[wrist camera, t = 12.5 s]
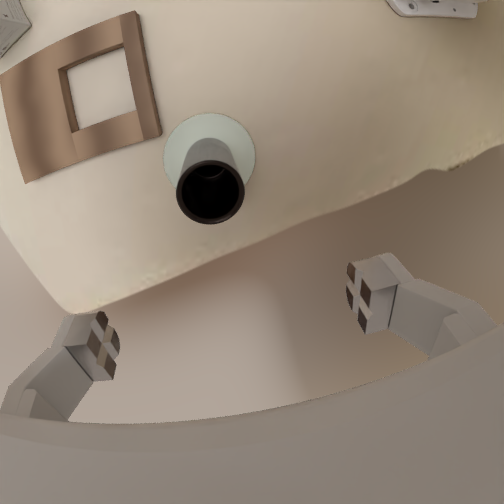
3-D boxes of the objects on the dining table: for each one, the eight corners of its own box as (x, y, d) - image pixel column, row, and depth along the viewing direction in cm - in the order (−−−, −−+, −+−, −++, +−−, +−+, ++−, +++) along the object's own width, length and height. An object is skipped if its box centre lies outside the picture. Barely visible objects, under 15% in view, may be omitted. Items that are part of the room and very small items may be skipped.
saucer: (246, 105, 26) (247, 105, 26) (260, 189, 31) (261, 191, 30) (155, 125, 26) (153, 126, 25) (176, 207, 31) (175, 210, 30)
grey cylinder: (197, 189, 29) (193, 235, 20) (178, 148, 27) (163, 178, 18) (239, 171, 29) (254, 209, 20) (221, 129, 27) (229, 148, 18)
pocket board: (139, 15, 20) (134, 10, 18) (162, 133, 27) (159, 136, 25) (9, 75, 19) (-1, 75, 18) (33, 178, 26) (25, 184, 24)
